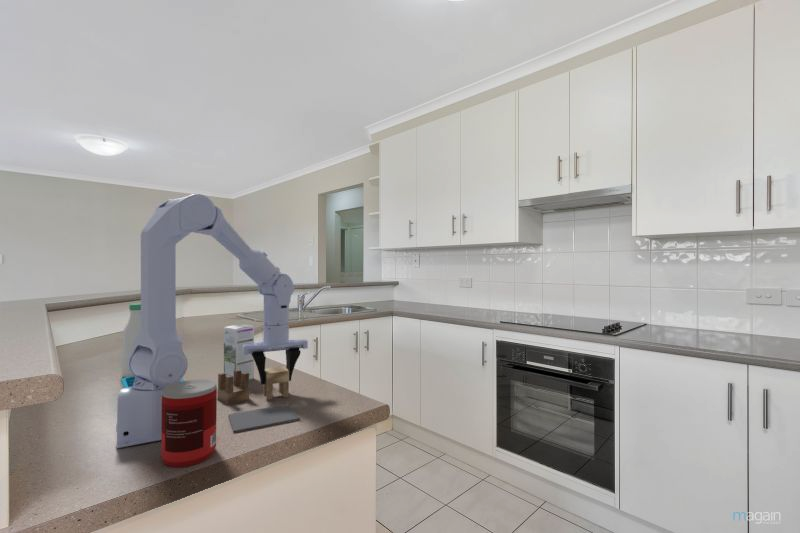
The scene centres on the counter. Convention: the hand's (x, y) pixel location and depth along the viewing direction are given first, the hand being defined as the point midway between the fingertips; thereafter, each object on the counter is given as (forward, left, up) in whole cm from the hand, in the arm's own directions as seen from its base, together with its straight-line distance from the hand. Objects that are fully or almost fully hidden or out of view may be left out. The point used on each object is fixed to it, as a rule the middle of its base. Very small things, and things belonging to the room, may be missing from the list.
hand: (275, 381), depth 89 cm
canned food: (-18, -23, -3) cm, 29 cm away
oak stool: (0, 0, -3) cm, 3 cm away
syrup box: (-6, +18, -3) cm, 19 cm away
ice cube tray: (-25, +15, -4) cm, 29 cm away
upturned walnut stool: (-9, +2, -3) cm, 10 cm away
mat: (-5, -13, -3) cm, 14 cm away
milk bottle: (-30, +37, -3) cm, 48 cm away
